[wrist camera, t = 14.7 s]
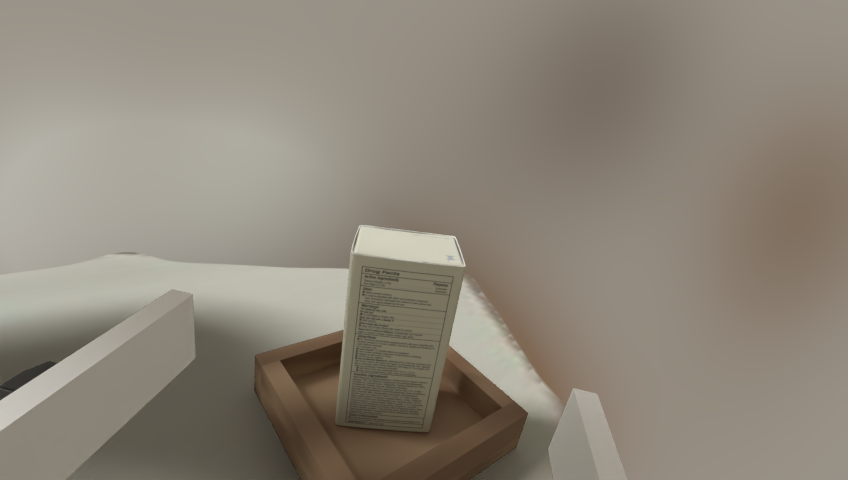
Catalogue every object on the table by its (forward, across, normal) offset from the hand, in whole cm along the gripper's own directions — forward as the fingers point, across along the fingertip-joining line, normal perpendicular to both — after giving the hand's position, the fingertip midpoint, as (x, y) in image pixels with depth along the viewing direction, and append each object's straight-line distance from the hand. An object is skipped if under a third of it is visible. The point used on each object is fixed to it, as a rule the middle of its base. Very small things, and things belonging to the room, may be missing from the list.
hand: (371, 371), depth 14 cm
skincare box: (+10, 0, -12) cm, 15 cm away
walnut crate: (+10, 0, -12) cm, 16 cm away
